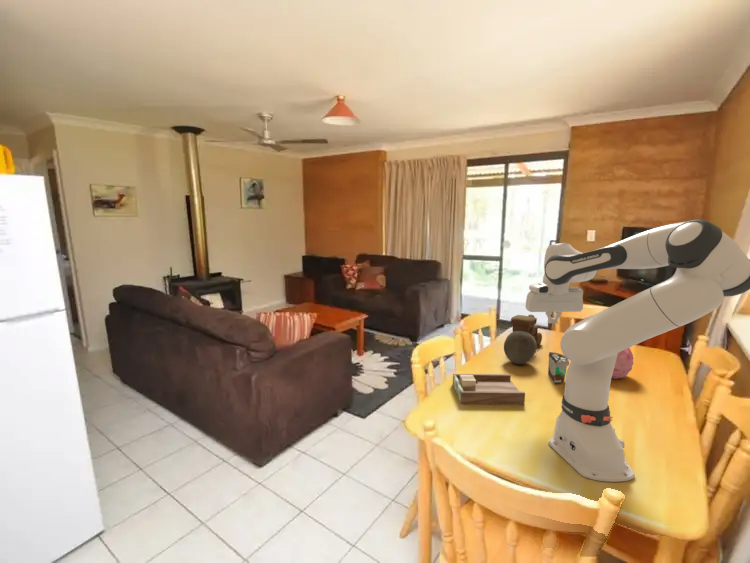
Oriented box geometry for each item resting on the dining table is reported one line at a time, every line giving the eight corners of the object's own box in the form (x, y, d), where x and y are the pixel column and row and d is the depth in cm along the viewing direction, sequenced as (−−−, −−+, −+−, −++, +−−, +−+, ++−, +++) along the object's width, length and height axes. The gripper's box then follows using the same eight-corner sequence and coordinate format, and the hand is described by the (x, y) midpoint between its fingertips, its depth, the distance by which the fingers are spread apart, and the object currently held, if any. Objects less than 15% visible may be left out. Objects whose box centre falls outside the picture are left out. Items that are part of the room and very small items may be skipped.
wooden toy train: (529, 353, 182) (531, 321, 179) (507, 348, 189) (509, 317, 186) (543, 343, 196) (545, 314, 193) (522, 339, 204) (524, 310, 201)
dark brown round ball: (532, 371, 161) (535, 339, 158) (499, 364, 168) (501, 333, 165) (537, 360, 172) (539, 330, 170) (506, 355, 180) (508, 326, 177)
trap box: (524, 404, 132) (525, 392, 131) (461, 403, 132) (461, 392, 132) (509, 384, 148) (509, 374, 147) (452, 384, 148) (453, 373, 147)
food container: (571, 386, 146) (573, 363, 144) (555, 385, 147) (557, 362, 145) (562, 374, 158) (564, 352, 156) (547, 373, 159) (548, 351, 157)
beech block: (475, 390, 137) (475, 380, 137) (462, 390, 138) (462, 380, 137) (472, 384, 142) (472, 374, 142) (459, 384, 142) (459, 374, 142)
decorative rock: (595, 351, 169) (594, 330, 161) (632, 354, 161) (633, 332, 153) (593, 385, 158) (591, 364, 150) (633, 390, 150) (634, 368, 142)
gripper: (578, 285, 137) (575, 320, 140) (524, 285, 137) (522, 320, 140) (588, 288, 131) (585, 325, 133) (532, 288, 131) (529, 325, 133)
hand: (552, 322), depth 137 cm, fingers closed
